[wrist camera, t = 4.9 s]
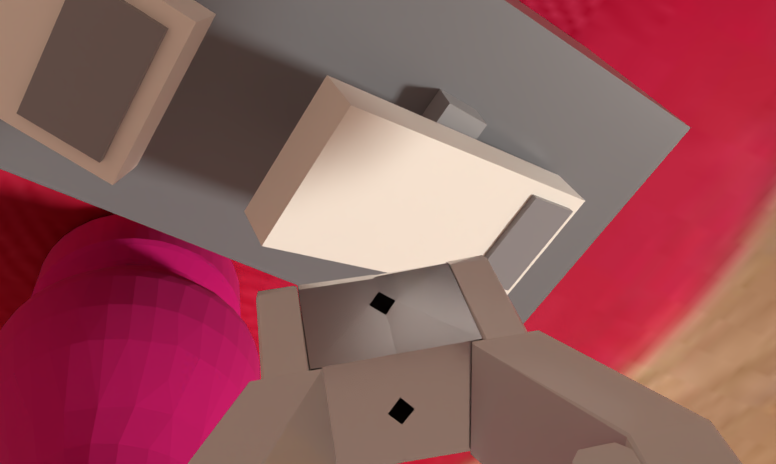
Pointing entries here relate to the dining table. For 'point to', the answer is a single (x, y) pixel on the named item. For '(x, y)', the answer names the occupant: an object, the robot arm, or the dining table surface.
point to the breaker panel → (389, 82)
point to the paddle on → (95, 73)
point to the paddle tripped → (403, 192)
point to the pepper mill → (122, 350)
